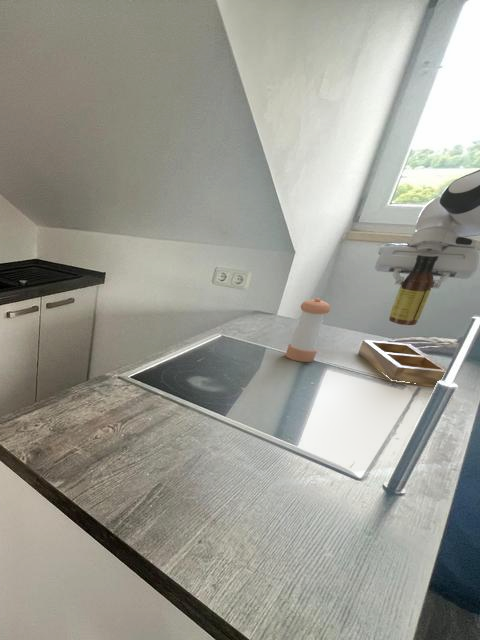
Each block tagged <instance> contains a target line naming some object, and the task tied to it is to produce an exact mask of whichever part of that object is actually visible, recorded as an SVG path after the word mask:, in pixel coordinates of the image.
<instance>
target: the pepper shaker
mask: <svg viewBox="0 0 480 640" xmlns="http://www.w3.org/2000/svg"><path fill="white" fill-rule="evenodd" d="M300 311H302V312H301V315H300V318H299V321H298V324H297V325H296V328H295V330H294V332H293V333H292V337H291V340H290V343H289V344H288V346H287V349H286V352H285V357H287V358H288V359H290V360H292V361H297V362H300V363H301V362H302V363H312V362H314V360H315V358H316V356H317V355H316V354H317V351H318V348H317V347H318V344H319V342H320V336H321V328H322V325H323V321H324V319H325V315H326V314H328V313H329V312H330V311H331V305H330V303H328V302H326V301H323V300H322V299H321V298H319V297H316V298H314V299H308V300H305V301H302V303H301V305H300Z"/></svg>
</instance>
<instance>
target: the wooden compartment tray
mask: <svg viewBox="0 0 480 640" xmlns="http://www.w3.org/2000/svg"><path fill="white" fill-rule="evenodd" d="M358 355H360V356H361V357H362V358H363V359H364V360H366V362H368V363H369V364H370V365H371V366H372V367H374V368H375V369H376V370H377V371H378V372H379V373H380V374H381V375H383V376H384V377H385V378H386V379H387V381H389V382H390V383H397V384H403V385H405V384H406V385H413V386H423V387H431V388H436V387H435V385H436V383H437V381H439V380H441V379H442V377H443V375H444V373H445V371H446V370H447V368H448V367H446V366H444V365H443V364H441V363H440V362H439V361H437V360H435V359H434V358H432V357H431V356H429V355H428V354H427V353H425V352H423V351H421V350H420V349H419V348H417V347H415V346H414V345H412V344H411V343H404V342H392V341H380V340H379V341H378V340H371V339H370V340H369V339H363V340H362V343H361V346H360V347H359V351H358ZM378 369H379V370H378ZM382 372H383V373H384V374H385V375H387V376H388V377H389V378H390V379H392V380H397V381H405V382H410V383H405V382H396V381H391V380H390V379H389V378H388V377H386V376H385V375H384V374H383V373H382ZM414 383H416V384H414Z"/></svg>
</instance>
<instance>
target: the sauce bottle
mask: <svg viewBox="0 0 480 640" xmlns="http://www.w3.org/2000/svg"><path fill="white" fill-rule="evenodd" d="M437 259H438V255H434V254H419V255H418V256H417V258H416V263H415V266H414V268H413V270H412V271H411V273H410V274H407V276H406V277H405V278H404V280H403V282H402V284H401V285H400V286H399V289H398V292H397V294H396V297H395V299H394V303H393V305H392V308H391V310H390V313H389V319H388V320H389V322H391V323H394V324H397V325H401V326H402V325H403V326H414V325H417V323H418V321H419V320H420V318H421V315H422V313H423V310H424V308H425V306H426V302H427V301H428V298H429V295H430V293H431V290H432V288H431V287H432V284H433V282H434V280H435V279H434V276H433V275H432V273H431V272H432V270H433V266H434V264H435V262H436V261H437Z"/></svg>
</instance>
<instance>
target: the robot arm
mask: <svg viewBox="0 0 480 640" xmlns="http://www.w3.org/2000/svg"><path fill="white" fill-rule="evenodd" d="M414 225H415V226H414V230H415V231H414V232H413V234H412V235H411V237H410V240H409V243H408V244H407V243H388V244H384V245H382V246H380V248H379V249H378V255H379V256H378V258H377V260H376V262H375V265H374V269H375V271H376V272H379V273H380V272H381V273H382V272H383V273H391V274H392V277H393V279H394V280H395V281H394V285H398V286H399V285H400V286H401V284H402V282H403V281H404V280H405V276H401V274H405V275H409V274H410V273H411V271H412V270H413V268H414V266H415V263H416V258H417V256H418V255H419V254H434V255H438V259H437V261H436V262H435V264H434V266H433V270H432V272H431V273H432V275H433V277H439V279H433V280H434V281H433V284H432V287H431V289H440V287H441V285H442V284H443V283H445V282H446V281H447V280H448V279H449V278H453V279H461V280H462V279H465V280H467V279H470V278H472V277H473V276H474V275H475V274H476V273H477V270H478V267H479V262H480V253H479V251H478V250H477V247H478V245H479V241H478V240H477V239H474V238H470V237H476V236H480V169H478V170H476V171H473V172H470V173H468V174H465V175H463V176H460V177H459V178H456V179H454V180H453V181H452V182H450V184H448V186H446V188H445V189H444V190H443V191H442V193H441V194H440V195H439V196H436V197H434V198H433V199H431V200H430V201H428V203H426V204H425V206H424V207H423V208H422V210H421V211H420V213H419V215H418V217H417V220H416V223H415V224H414Z"/></svg>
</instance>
